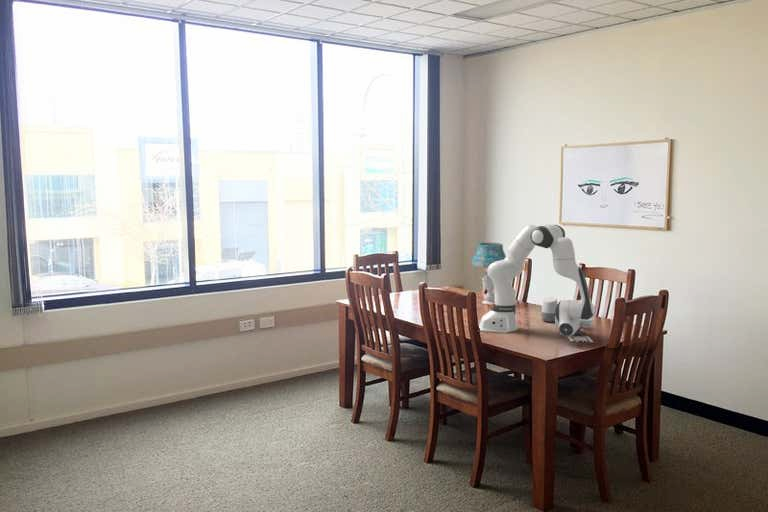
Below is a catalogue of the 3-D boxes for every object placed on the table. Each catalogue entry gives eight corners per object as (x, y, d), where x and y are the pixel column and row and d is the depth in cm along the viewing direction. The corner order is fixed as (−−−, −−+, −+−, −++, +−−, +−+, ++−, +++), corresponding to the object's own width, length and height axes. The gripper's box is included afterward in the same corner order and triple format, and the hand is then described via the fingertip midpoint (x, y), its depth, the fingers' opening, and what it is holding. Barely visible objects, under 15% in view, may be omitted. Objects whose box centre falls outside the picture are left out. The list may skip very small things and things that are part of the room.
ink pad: (569, 334, 342) (569, 331, 342) (566, 330, 349) (566, 328, 349) (586, 334, 341) (586, 331, 341) (583, 331, 348) (583, 328, 348)
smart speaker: (537, 320, 374) (538, 297, 372) (549, 318, 378) (550, 295, 376) (548, 323, 366) (549, 299, 364) (561, 322, 370) (561, 298, 368)
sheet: (571, 341, 327) (571, 340, 327) (567, 336, 337) (567, 335, 337) (592, 341, 326) (592, 341, 326) (588, 336, 336) (588, 336, 336)
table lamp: (466, 300, 433) (467, 242, 427) (500, 299, 437) (501, 241, 432) (478, 308, 409) (479, 246, 404) (513, 306, 414) (514, 245, 408)
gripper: (592, 319, 328) (597, 313, 340) (552, 315, 337) (558, 310, 349) (592, 331, 329) (596, 325, 341) (552, 326, 338) (557, 321, 350)
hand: (576, 317), depth 345 cm, fingers closed on stamp, 3 cm apart
